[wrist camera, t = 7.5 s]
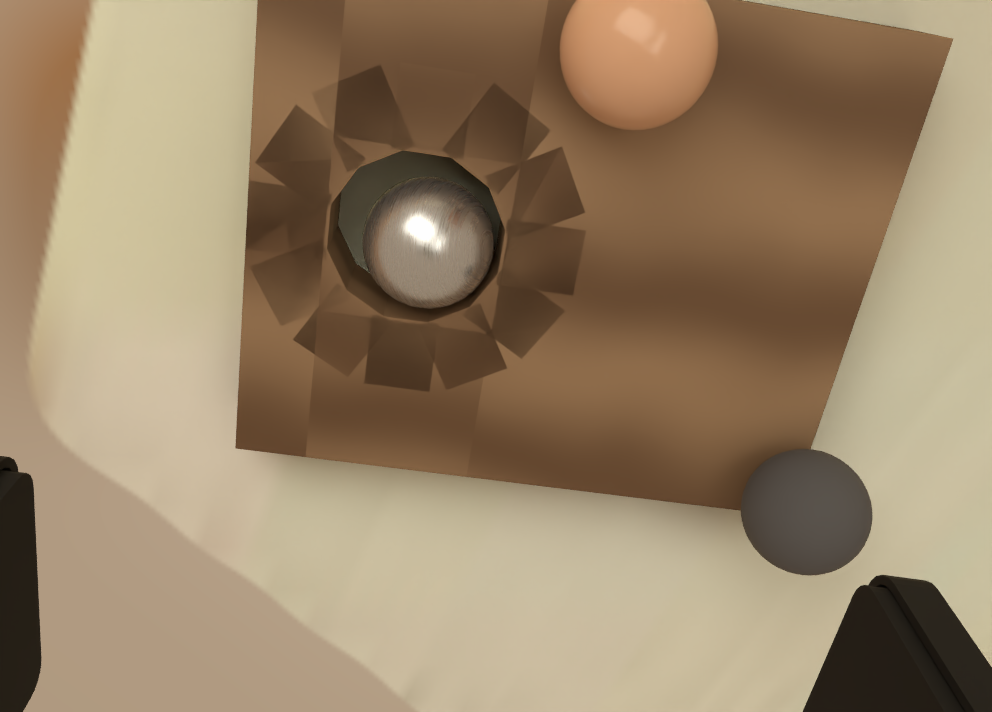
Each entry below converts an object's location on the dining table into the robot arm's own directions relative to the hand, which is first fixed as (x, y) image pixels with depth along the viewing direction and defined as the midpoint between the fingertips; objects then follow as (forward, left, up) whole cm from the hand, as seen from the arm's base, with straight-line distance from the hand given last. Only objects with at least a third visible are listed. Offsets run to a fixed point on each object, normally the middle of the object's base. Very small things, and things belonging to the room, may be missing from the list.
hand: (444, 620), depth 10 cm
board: (+1, +3, -21) cm, 21 cm away
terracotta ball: (-5, +4, -16) cm, 17 cm away
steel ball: (+2, -1, -19) cm, 19 cm away
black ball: (+8, +12, -16) cm, 22 cm away
